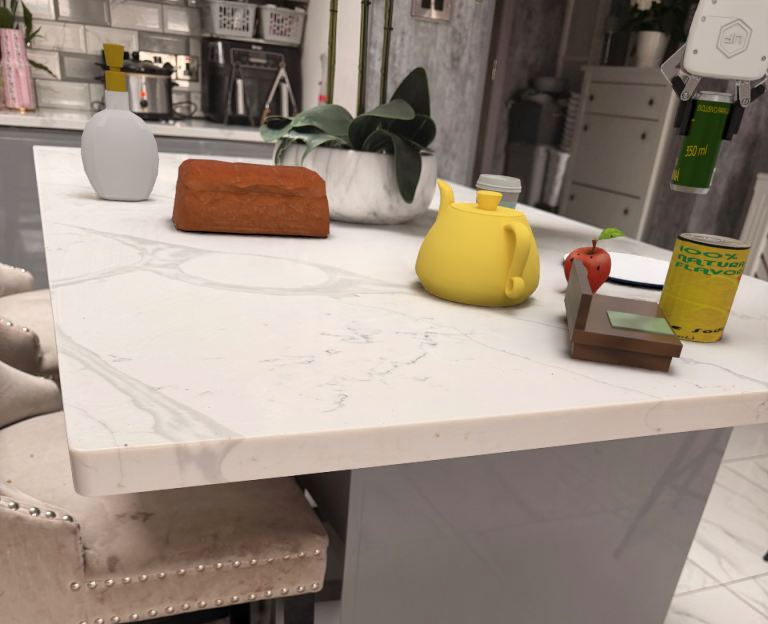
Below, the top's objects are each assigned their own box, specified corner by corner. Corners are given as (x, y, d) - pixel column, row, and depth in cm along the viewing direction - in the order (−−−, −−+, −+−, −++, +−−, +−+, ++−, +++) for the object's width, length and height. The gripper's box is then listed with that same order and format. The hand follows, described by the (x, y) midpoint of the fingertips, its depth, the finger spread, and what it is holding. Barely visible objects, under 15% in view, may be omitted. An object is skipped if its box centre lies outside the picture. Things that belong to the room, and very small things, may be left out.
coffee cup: (510, 252, 142) (523, 182, 136) (465, 245, 143) (475, 176, 137) (512, 244, 149) (523, 178, 143) (468, 238, 150) (478, 172, 144)
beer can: (704, 191, 107) (731, 94, 101) (712, 195, 103) (741, 94, 97) (665, 186, 108) (690, 90, 102) (671, 190, 103) (697, 90, 97)
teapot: (379, 269, 117) (388, 173, 110) (476, 270, 125) (490, 179, 118) (461, 316, 98) (478, 203, 91) (570, 313, 105) (593, 208, 99)
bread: (169, 216, 138) (167, 152, 133) (313, 223, 147) (316, 163, 141) (178, 234, 125) (176, 163, 120) (334, 240, 134) (339, 175, 129)
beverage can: (727, 346, 99) (759, 250, 93) (657, 335, 100) (684, 240, 94) (713, 327, 107) (741, 238, 101) (648, 318, 108) (672, 229, 102)
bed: (649, 328, 103) (665, 271, 99) (674, 375, 86) (694, 309, 82) (560, 315, 104) (573, 259, 100) (566, 359, 87) (582, 293, 83)
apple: (575, 300, 112) (591, 230, 108) (550, 288, 118) (564, 220, 113) (617, 300, 115) (634, 231, 110) (590, 289, 121) (606, 222, 116)
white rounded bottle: (154, 196, 156) (147, 47, 143) (165, 203, 149) (159, 48, 136) (80, 193, 149) (66, 38, 136) (88, 201, 143) (74, 39, 130)
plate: (544, 269, 130) (545, 262, 129) (581, 251, 150) (583, 244, 149) (694, 300, 121) (696, 292, 120) (713, 276, 141) (715, 269, 140)
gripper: (680, -38, 91) (640, 131, 100) (830, -25, 89) (776, 146, 98) (671, -29, 97) (635, 129, 106) (811, -17, 95) (762, 143, 104)
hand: (703, 136), depth 102 cm, fingers closed on beer can, 5 cm apart
